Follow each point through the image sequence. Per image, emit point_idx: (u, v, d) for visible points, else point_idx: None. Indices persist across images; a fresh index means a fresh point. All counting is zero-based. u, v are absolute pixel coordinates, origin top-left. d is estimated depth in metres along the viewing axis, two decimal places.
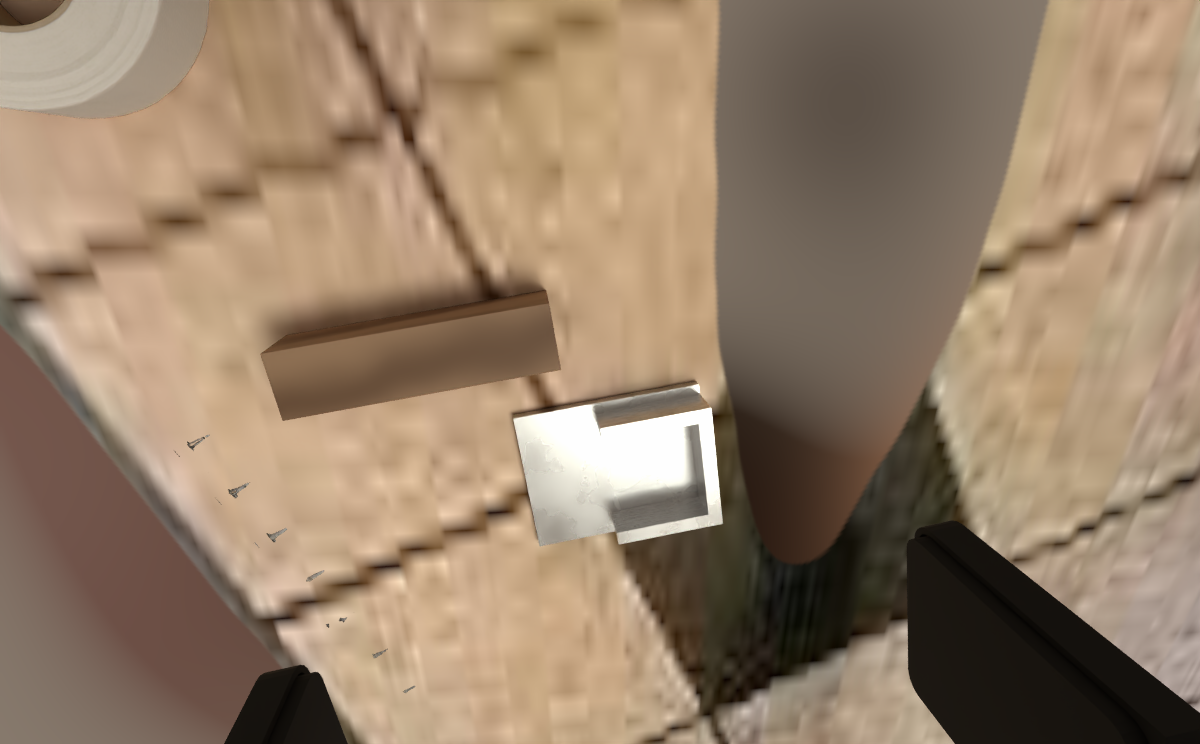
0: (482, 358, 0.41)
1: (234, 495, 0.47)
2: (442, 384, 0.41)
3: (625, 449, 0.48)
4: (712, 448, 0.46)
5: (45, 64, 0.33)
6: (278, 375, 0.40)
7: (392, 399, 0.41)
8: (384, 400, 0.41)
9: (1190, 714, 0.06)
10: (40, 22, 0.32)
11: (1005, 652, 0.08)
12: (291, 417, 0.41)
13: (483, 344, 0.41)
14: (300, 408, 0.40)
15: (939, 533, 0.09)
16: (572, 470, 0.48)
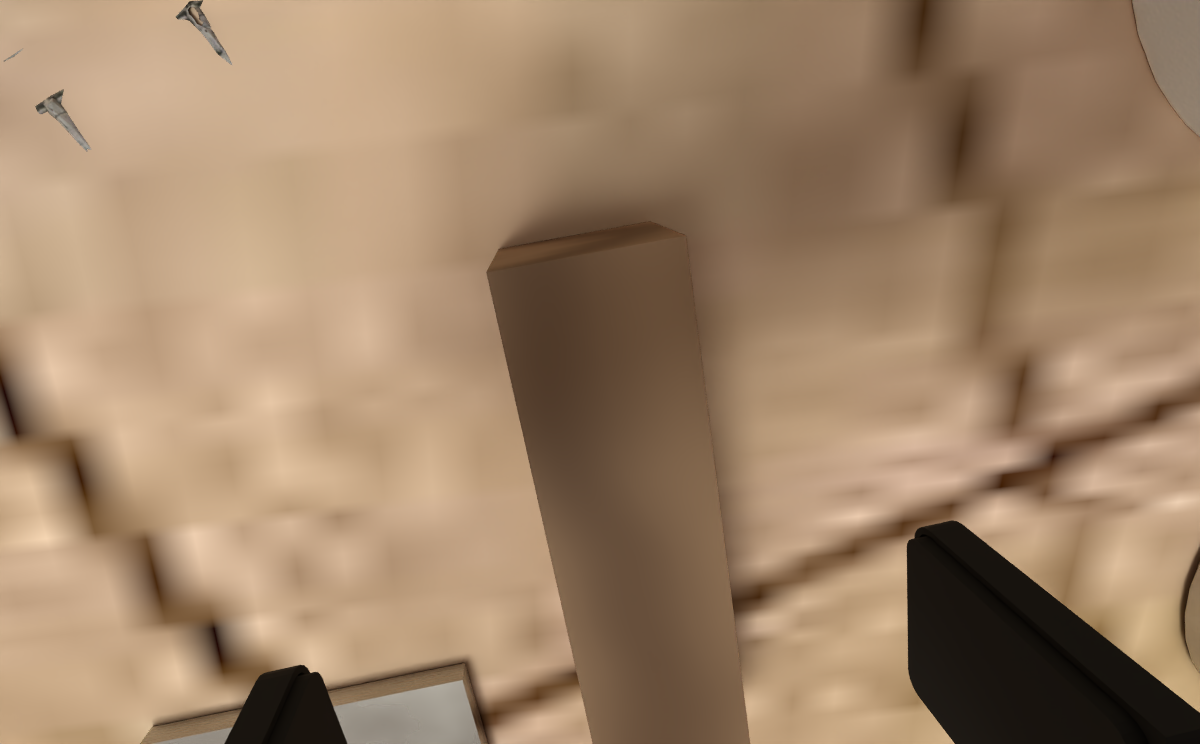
0: (649, 717, 0.18)
1: (184, 15, 0.16)
2: (588, 645, 0.17)
3: None
4: None
5: None
6: (622, 276, 0.14)
7: (550, 543, 0.16)
8: (548, 525, 0.16)
9: (1190, 714, 0.06)
10: None
11: (1005, 652, 0.08)
12: (497, 297, 0.14)
13: (681, 718, 0.18)
14: (524, 323, 0.14)
15: (939, 533, 0.09)
16: None
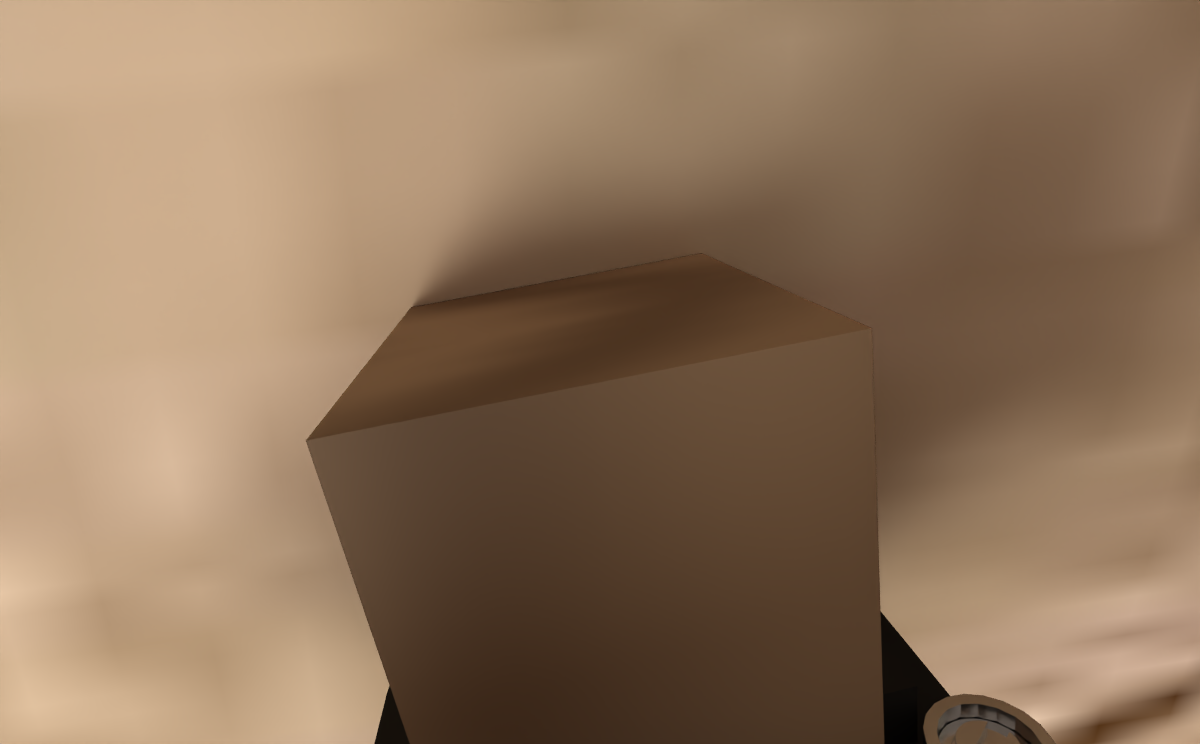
0: None
1: None
2: None
3: None
4: None
5: None
6: (695, 439, 0.05)
7: None
8: None
9: (901, 677, 0.07)
10: None
11: None
12: (343, 505, 0.05)
13: None
14: (424, 565, 0.05)
15: None
16: None
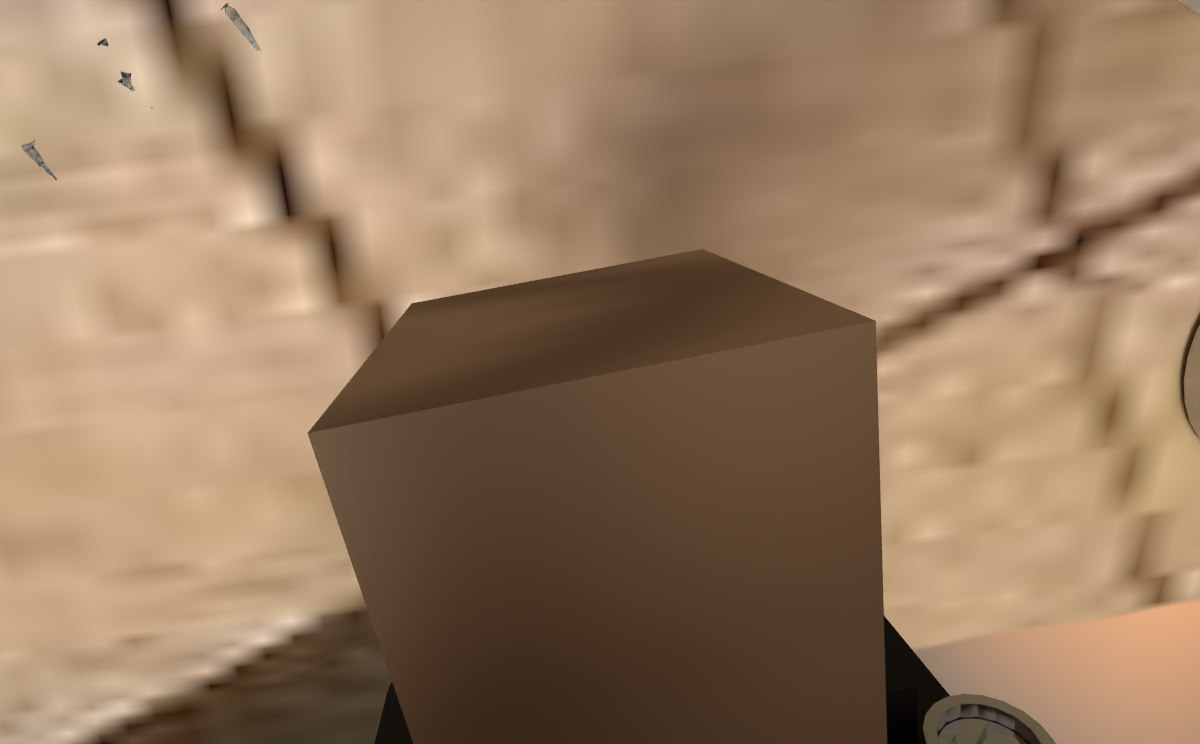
0: None
1: None
2: None
3: None
4: None
5: None
6: (698, 432, 0.05)
7: None
8: None
9: (900, 677, 0.07)
10: None
11: None
12: (345, 498, 0.05)
13: None
14: (426, 559, 0.05)
15: None
16: None
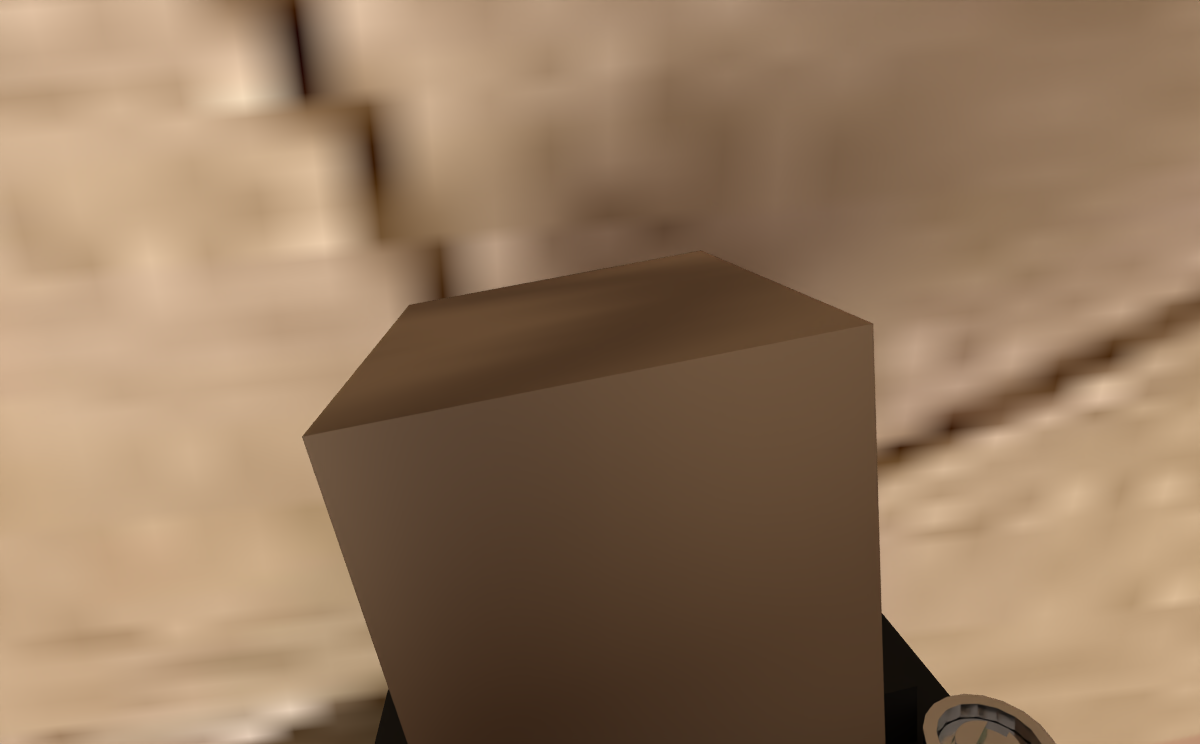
0: None
1: None
2: None
3: None
4: None
5: None
6: (694, 436, 0.05)
7: None
8: None
9: (900, 677, 0.07)
10: None
11: None
12: (340, 502, 0.05)
13: None
14: (422, 564, 0.05)
15: None
16: None
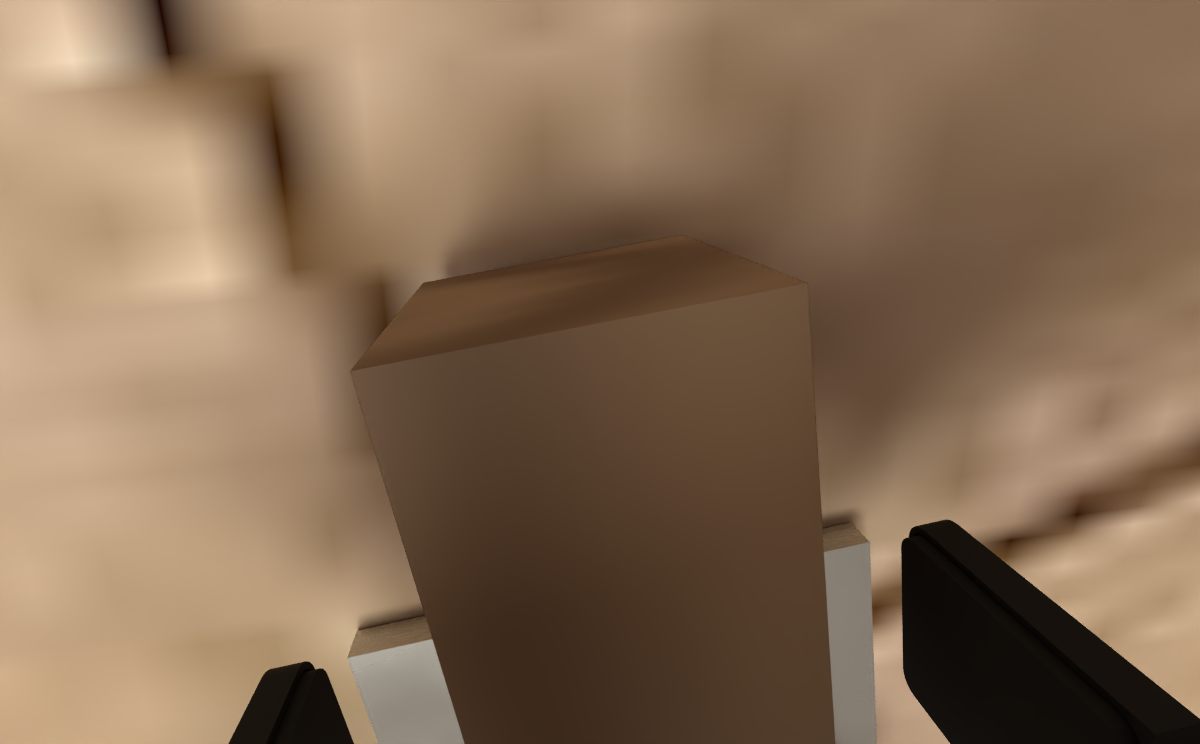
0: None
1: None
2: None
3: None
4: None
5: None
6: (664, 374, 0.06)
7: None
8: None
9: (1180, 712, 0.06)
10: None
11: (998, 651, 0.08)
12: (379, 425, 0.06)
13: None
14: (443, 478, 0.06)
15: (933, 532, 0.09)
16: None
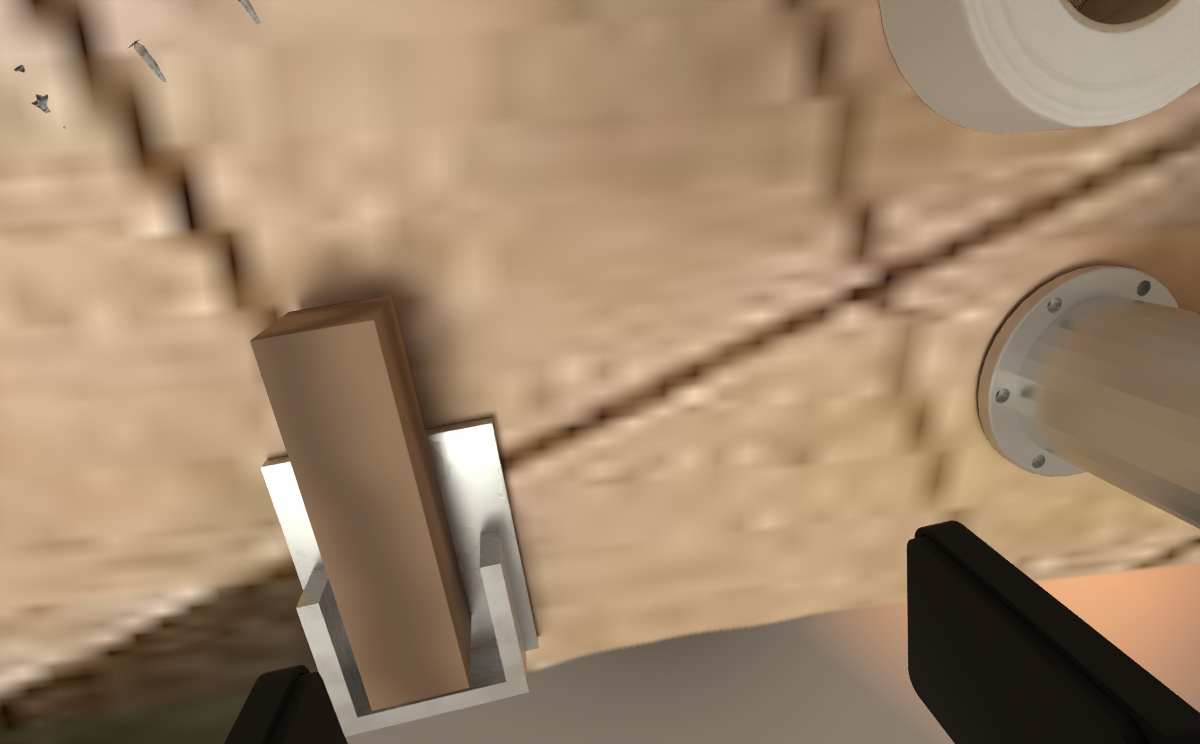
0: (384, 618, 0.28)
1: None
2: (337, 569, 0.27)
3: None
4: (467, 704, 0.33)
5: None
6: (336, 343, 0.24)
7: (306, 504, 0.26)
8: (303, 493, 0.26)
9: (1190, 714, 0.06)
10: None
11: (1005, 652, 0.08)
12: (258, 355, 0.24)
13: (406, 618, 0.28)
14: (276, 370, 0.24)
15: (939, 533, 0.09)
16: None
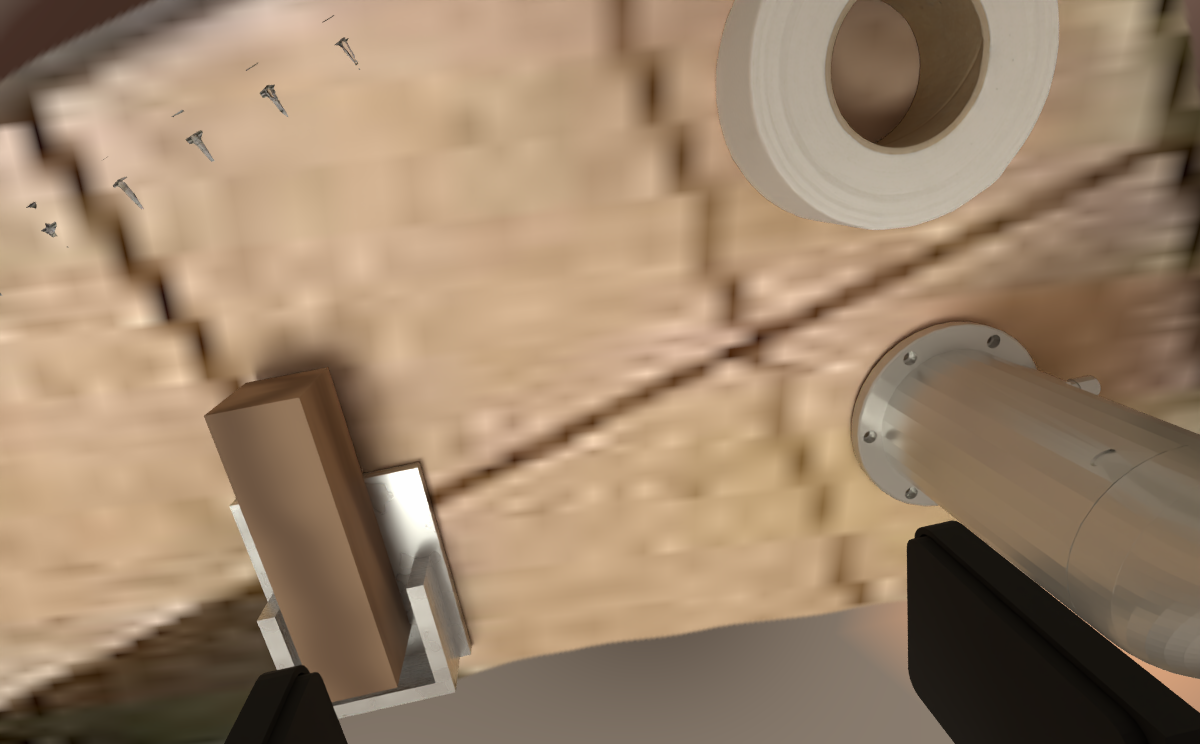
0: (323, 630, 0.35)
1: (264, 93, 0.32)
2: (282, 591, 0.34)
3: None
4: (404, 701, 0.39)
5: (794, 98, 0.30)
6: (271, 416, 0.31)
7: (254, 540, 0.33)
8: (251, 531, 0.32)
9: (1189, 714, 0.06)
10: (833, 100, 0.30)
11: (1005, 652, 0.08)
12: (210, 426, 0.31)
13: (341, 630, 0.35)
14: (225, 437, 0.31)
15: (939, 533, 0.09)
16: None
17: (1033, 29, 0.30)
